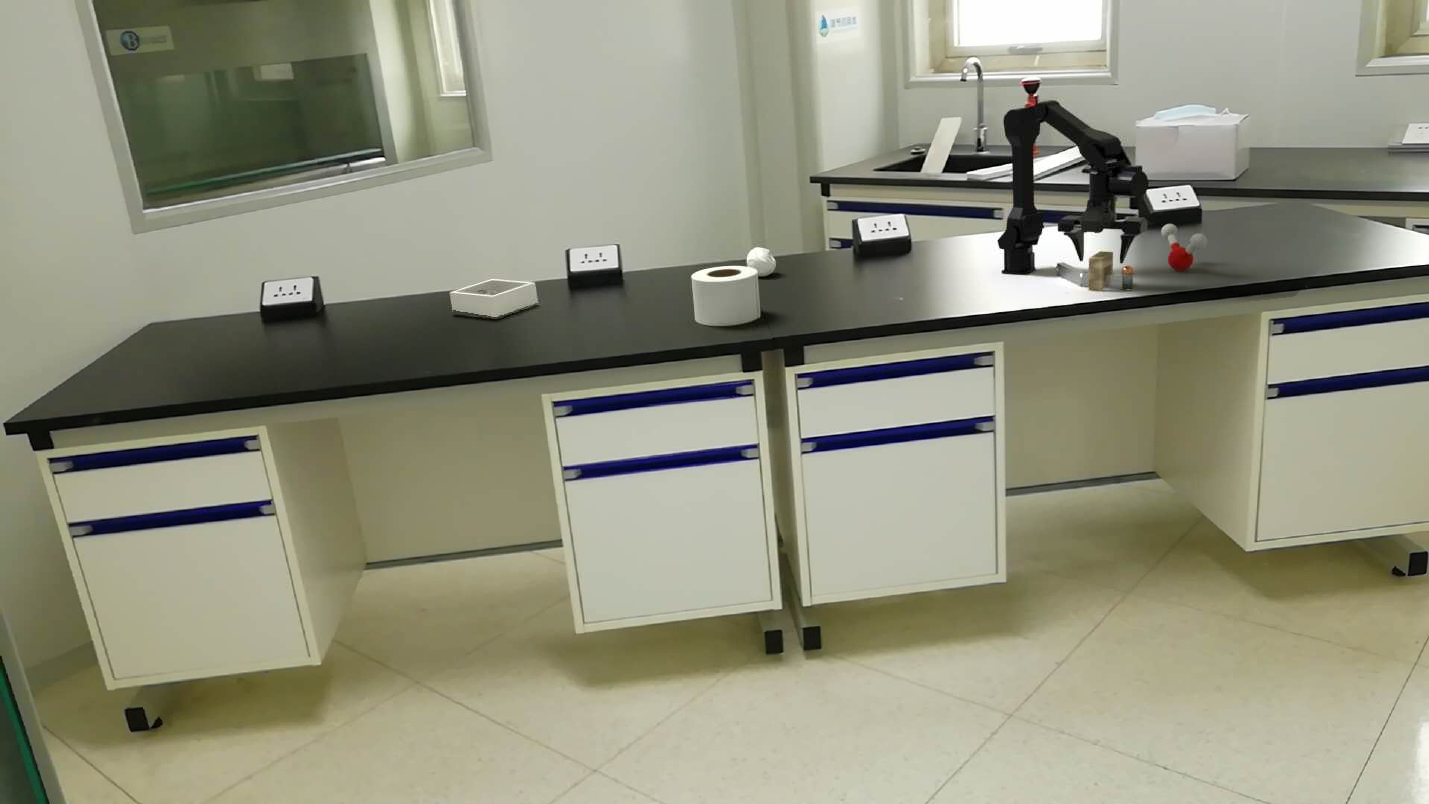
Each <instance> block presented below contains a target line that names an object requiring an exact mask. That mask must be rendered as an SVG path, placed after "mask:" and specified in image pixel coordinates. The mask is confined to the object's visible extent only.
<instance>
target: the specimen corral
mask: <svg viewBox="0 0 1429 804" xmlns="http://www.w3.org/2000/svg"><path fill="white" fill-rule="evenodd" d="M480 288H481V289H485V290H486V291H496V292H499V294H496V295H483V294H477V292H478V289H480ZM486 288H487V289H486ZM449 296H450V297H449V298H450V303H451V308H452V309H451V310H452V311H453V310H456V311H460V312H468V313H474V314H479V315H487V316H491V317H498V316H500V315H504V314H507V313H509V312H513V311H515V310H517V309H521V308H524V307H526V306H530V305H533V304H535V303H538V304H539V300H538V293H537V288H536V282H531V281H521V280H509V279H508V280H507V279H498V278H497V279H496V278H492V279H488V280H485V281H481V282H479V283H475V284H471V285H469V286H465V287H463V288H459V289H455V290H454V291H450V292H449Z"/></svg>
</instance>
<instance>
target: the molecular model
mask: <svg viewBox="0 0 1429 804" xmlns="http://www.w3.org/2000/svg"><path fill="white" fill-rule="evenodd" d="M1178 230H1179V229H1178V228H1177V226H1176V225H1175V224H1173V223H1167V224H1165V225H1164V226H1162V228H1161V233H1160V234H1161V236H1162V237H1163V239H1166V240H1168V243H1169V245H1170V247H1171V251H1170V252H1169V253H1168V256H1167V262H1168V265H1169V267H1170V268H1171V269H1173V270H1174V271H1178V272H1183V271H1186V270H1187V269H1189V268H1190V267H1191V266H1192V264H1193V262H1194V254H1193V253H1194V252H1195V251H1197V250H1198V251H1199V250H1201V249H1203V248H1205V247H1206V246H1207V244H1208V239H1207V237H1206V236H1205V234H1203V233H1195V234H1193V235H1192V236H1191V237H1190V238H1189V239H1190V240H1189V244H1188V246H1187V247H1185V246H1180V243H1179V240H1178V238H1177V235H1178Z"/></svg>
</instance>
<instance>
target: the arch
mask: <svg viewBox="0 0 1429 804" xmlns="http://www.w3.org/2000/svg"><path fill="white" fill-rule="evenodd" d="M1113 265H1114V252H1113V251H1098V252H1097V253H1095V254H1094V255H1092V256H1090V257H1089V258H1088V273H1089V287H1088V291H1089V290H1091V291H1090V292H1103V291H1104V288H1103V286H1104V274H1114V273H1113V271H1114V270H1113V268H1114V266H1113ZM1102 290H1103V291H1102Z"/></svg>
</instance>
